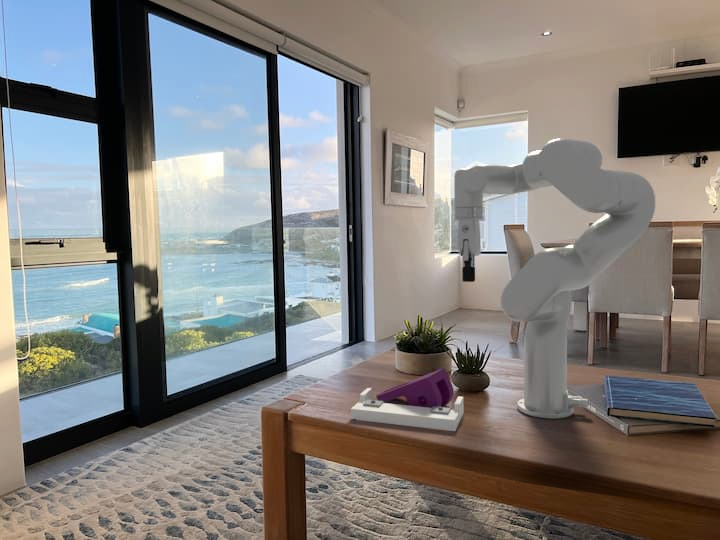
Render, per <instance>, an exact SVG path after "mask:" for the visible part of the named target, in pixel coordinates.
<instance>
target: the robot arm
mask: <svg viewBox="0 0 720 540" xmlns="http://www.w3.org/2000/svg"><path fill="white" fill-rule="evenodd" d="M602 164H603V155H602V153H601V151H600V149H599V148H598V147H597V146H596V144H593V143H592V142H589V141H585V140H580V139H579V140H578V139H572V138H571V139H570V138H556V139H552V140H550V141H548V142H546V144H544V145H543V146H542V147H541V148H540V150H535V151H532V152H530V153H528V154H527V155H526V156H525V158H524V160H523V162H522V163H518V164H511V165H502V164H490V163H489V164H487V163H486V164H485V163H480V164H476V165H474V166H472V167H466V168H459V169H457V170H456V171H455V172H454V177H453V178H454V184H453V185H454V221H458V228H457V229H458V231H457V233H458V235H457V236H458V238H457V239H458V240H457V241H458V242H457V243H458V244H457V246H458V255H459V256H460V257H462V274H461V276H462V282H464V283H465V282H466V283H467V282H468V283H473V282H475V281H476V267H475V265H476V263H475V261H476V257H477V256H479V255H481V253H482V247H481V227H480V226H481V225H480V220H481V221H482V220H483V216H484V213H483V212H484V208H483V207H484V196H483V195H486V194H487V195H513V194H520V193H526V192H531V191H534V190H538V189H540V188H546V187H551V186H553V188H555V189H557V191H559V192H560V193H561V194H562V195H563V196H565V197H566V198H567V199H568V200H569V201H570V202H572V204H574V205H575V206H576V207H578V208H579V209H581V210H583V211H584V212H587V213H593V214H604V215H603V216H602V217H601V218H599V219H597V220H596V221H594V222H593V223H592V224H590V225H589V226H588V227H587V228H586V229H585V230H584V231H583V232H582V234H581V235H579V236H578V237H577V239H576V240H574V241H573V242H572V243H571V244H569V245H567V246H562V247H561V246H559V247H549V248H546V249H542V250H541V251H539V252H537V253H536V254H534V255H533V256H532V257H531V258H530V259H528V261H527V262H526V263H525V264H524V265H523V266H522V268H521V269H520V270H519V271H517V273H516V274H515V275H514V276H513V277H512V278H511V280H509V282H508V283H507V284H506V286H505V287H504V288H503V291H502V293H501V296H500V308H501V310H502V312H503V314H504V315H505V316H506V318H509V319H510V320H511V321H514V322H517V323H526V327H525V331H524V338H523V339H524V343H523V344H524V345H523V398H521V399H519V400H518V401H517V403H516V404H517V405H516V407H517V409H518V411H520V412H521V413H523V414H525V415H528V416H532V417H536V418H542V419H550V420H551V419H552V420H553V419H564V418H568V417H570V416H572V415H574V407H578V408H584V409H585V408H586V409H588V408H589V399H588V398H583V397H582V396H572V395H571V394H569V390H568V389H567V381H568V380H567V378H568V377H567V376H568V375H567V374H568V332H569V331H568V330H569V320H570V315H571V311H572V304H573V297H572V292H571V291H576V290H582V289H585V288H586V287H588V286H590V284H592V282H594V281H595V280H596V279H597V278H598V277H599V276H600V275H601V274H602V273H604V271H605V270H606V269H607V268H608V267H610V266H611V265H612V263H614V262H615V261H616V260H617V258H619V257H620V256H621V255H622V254H623V253H624V252H625V251H627V249H628V248H630V247H631V246H632V245H633V244H634V243H635V242H637V240H638V239H640V237H641V236H642V235H643V234H644V233H645V231H646V230H647V229H648V227H649V225H650V224H651V222H652V220H653V217H654V216H655V210H656V193H655V191H654V189H653V187H652V185H651V183H650V181H648V180H647V179H646V178H645V177H644V176H642V175H640V174H638V173H635V172H631V171H626V170H625V171H624V170H611V169H602Z"/></svg>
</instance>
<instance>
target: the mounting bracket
mask: <svg viewBox="0 0 720 540" xmlns="http://www.w3.org/2000/svg"><path fill="white" fill-rule="evenodd" d="M454 393H455V391H454V387H453V384H452V382H451V380H450V377H449V375H448V373H447V371H446V368H445V367H443V368H440V369H438V370H435V371H433V372H429V373H427V374H424V375H422V376H419V377H416V378H414V379H412V380H408V381H406V382H403V383H400V384H397V385H395V386H394V387H390V388H388V389H385V390H384V391H382V392H380V393H378V394H376V395H375V396H376V397H375V398H376V400H377V401H383V403H388V402H390V401H393V400H396V399H398V398H402V397H404V398H405V400H406V401H407V404H408V406H418V407H428V408H432V407H433V406H436V407H446V406H447V405H448V404H450V403H451V402H452V400H453V398H454Z"/></svg>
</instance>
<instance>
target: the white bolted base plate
mask: <svg viewBox="0 0 720 540" xmlns="http://www.w3.org/2000/svg"><path fill="white" fill-rule="evenodd" d="M463 416H464V396H457V398H456V400H455V401H454V406H453V409H451V407H446V406H444V407H436V406H433V407H432V408H428V407H418V406H409V404H408V405H406V404H398V403H397V404H395V403H388V402H385V403H383V401H378V400H377V399H376V400H375V399H373V389H372V387H367V388H366V389H364V390H363V391H362V392H361V393H360V394H359V400H358V402H356V403H355V405H353V406H352V407H351V408H350V419H351V420H353V419H356V420H355V421H363V422H371V423H373V422H374V423H380V424H389V425H398V426H406V427H413V428H414V427H415V428H422V429H433V430H439V431H440V430H441V431H448V432H456V430H457V429H458V428H457V427H458V426H459V424H460V422H461V420H462V418H463Z"/></svg>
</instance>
